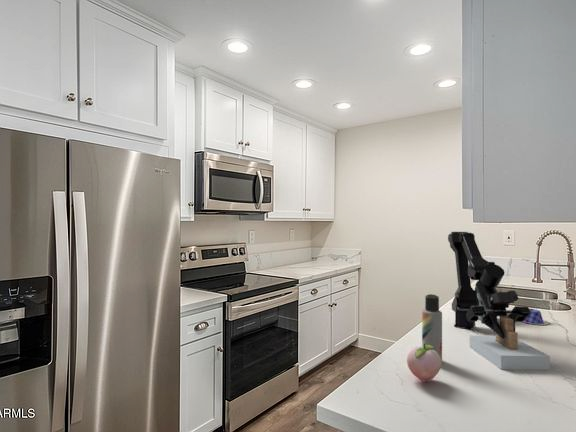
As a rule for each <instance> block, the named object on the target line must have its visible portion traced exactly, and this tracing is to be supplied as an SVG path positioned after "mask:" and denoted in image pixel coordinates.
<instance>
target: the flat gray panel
mask: <svg viewBox="0 0 576 432" xmlns="http://www.w3.org/2000/svg"><path fill="white" fill-rule="evenodd" d="M469 348H470V349H471V350H473V351H474V352H476V353H477V354H478V355H480V356H481V357H483V358H485V359H486V360H487V361H488V362H490V363H491V364H493V365H494V366H495V367H497V368H498V369H500V370H523V371H524V370H525V371H526V370H529V371H530V370H532V371H533V370H534V371H541V370H542V371H550V369H551V367H550V364H551V363H550V359H551V357H550V355H548V354H547V353H544V351H543V352H542V351H541V350H539V349H537V348H535V347H533V346H531V345H529V344H527V343H525V342H524V341H521V340H520V339H518V350H510V349H508V348H507V347H505V346H503V345H502V344H500V343H498V342H497V341H496V335H479V334H478V335H477V334H476V335H469Z"/></svg>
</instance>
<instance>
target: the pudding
mask: <svg viewBox="0 0 576 432" xmlns="http://www.w3.org/2000/svg"><path fill="white" fill-rule="evenodd" d="M529 309H530V311H531V314H530V315H529V317H528V318H527V319H526V320H525V321H523V323H526V324H529V325H530V324H531V325H537V326H538V325H540V326H542V325H543V326H544V325H549V324H550V321H549V320H546V319H543V314H542V313H541V310H539V309H535V308H529Z"/></svg>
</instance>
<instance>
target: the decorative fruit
mask: <svg viewBox="0 0 576 432" xmlns="http://www.w3.org/2000/svg"><path fill="white" fill-rule="evenodd" d="M433 349H435V348H434V347H433V346H431V345H425V344H424V346H423V347H422V346H416V347H413V348H412V349H411V350H410V351H409V352H408V353H407V356H406V357H407V358H406V364H407V367H408V369H409V371H410V372H411V373H412V375H413V376H414V377H416V379H419V380H420V381H423V382H425V383H426V382H429V381H431V380H433V379H434V378H435V377H436V376H437V375H438V373H439V372H440V370H441V367H442V362H441V358H440V356H439V354H438V353H437V352H436V351H435V350H433Z"/></svg>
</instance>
